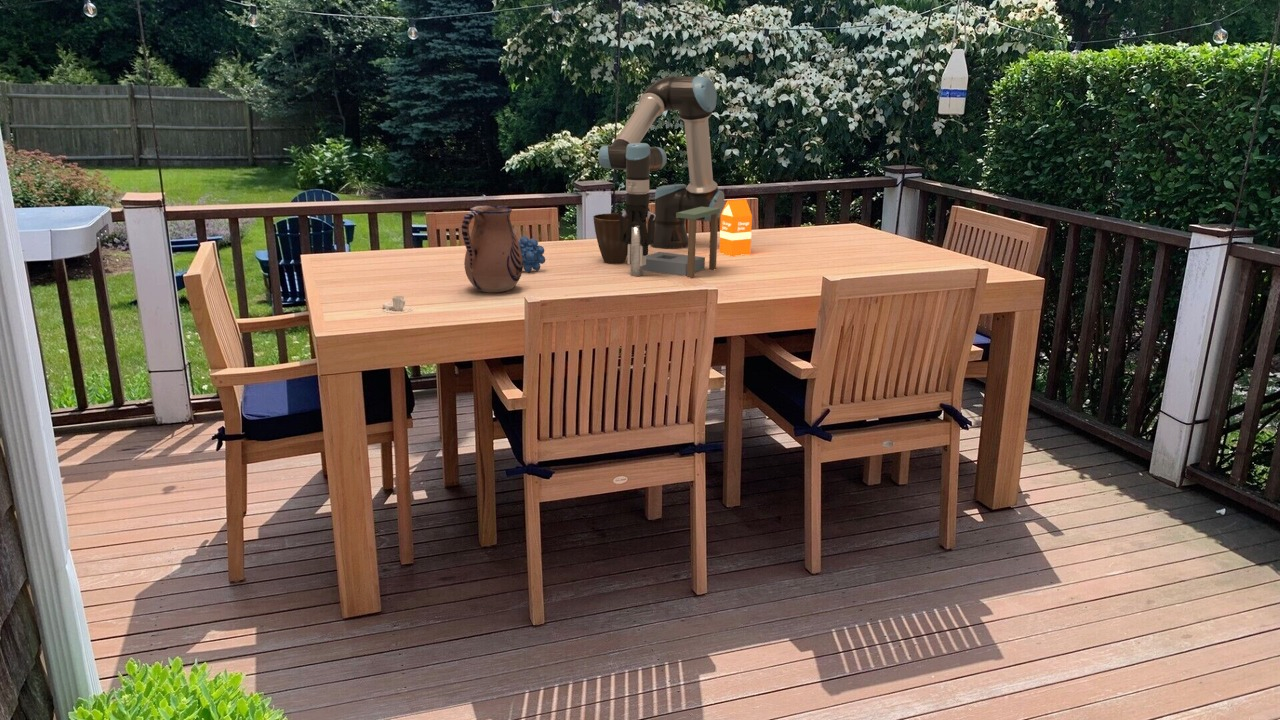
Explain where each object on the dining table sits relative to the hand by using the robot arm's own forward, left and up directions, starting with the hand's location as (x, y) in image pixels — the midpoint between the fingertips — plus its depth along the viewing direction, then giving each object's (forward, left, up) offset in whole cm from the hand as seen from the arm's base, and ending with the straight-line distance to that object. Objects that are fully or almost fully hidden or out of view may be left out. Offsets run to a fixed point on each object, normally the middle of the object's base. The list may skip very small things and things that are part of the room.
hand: (636, 264), depth 303 cm
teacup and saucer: (-33, -74, -4) cm, 81 cm away
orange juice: (+11, +53, -4) cm, 54 cm away
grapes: (-32, -16, -4) cm, 36 cm away
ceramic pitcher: (-25, -44, -4) cm, 51 cm away
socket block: (+5, +15, -4) cm, 16 cm away
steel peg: (0, 0, -4) cm, 4 cm away
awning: (+15, +15, -4) cm, 21 cm away
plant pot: (-18, +15, -4) cm, 24 cm away
